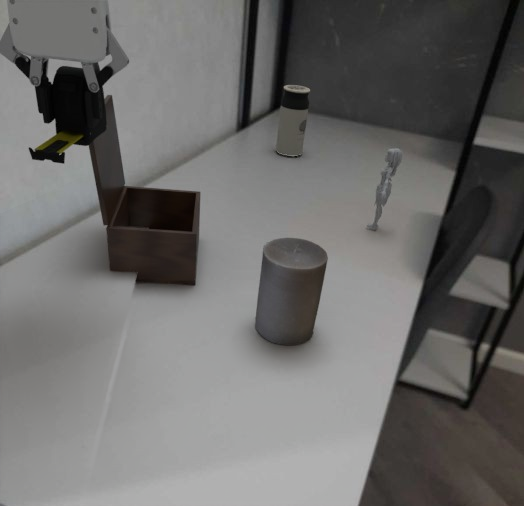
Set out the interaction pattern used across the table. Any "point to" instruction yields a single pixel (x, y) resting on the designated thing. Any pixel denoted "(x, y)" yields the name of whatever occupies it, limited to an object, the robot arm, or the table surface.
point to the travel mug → (292, 120)
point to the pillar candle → (289, 290)
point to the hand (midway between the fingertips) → (71, 121)
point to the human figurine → (386, 183)
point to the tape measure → (69, 116)
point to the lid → (108, 164)
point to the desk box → (155, 235)
